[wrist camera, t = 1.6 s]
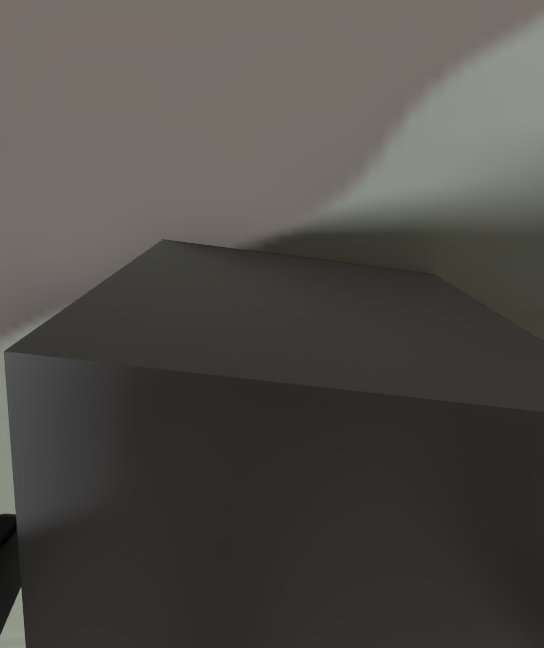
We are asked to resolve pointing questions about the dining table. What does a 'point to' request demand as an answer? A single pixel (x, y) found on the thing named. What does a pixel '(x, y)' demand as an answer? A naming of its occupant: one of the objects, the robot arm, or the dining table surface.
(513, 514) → the dark grey block
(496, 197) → the dining table surface
